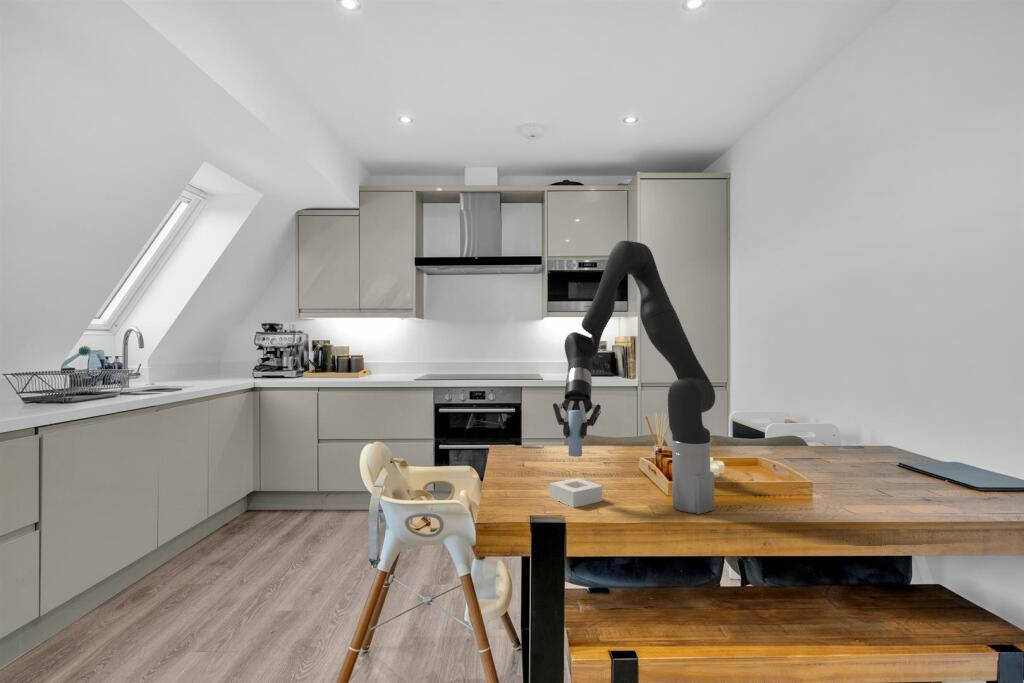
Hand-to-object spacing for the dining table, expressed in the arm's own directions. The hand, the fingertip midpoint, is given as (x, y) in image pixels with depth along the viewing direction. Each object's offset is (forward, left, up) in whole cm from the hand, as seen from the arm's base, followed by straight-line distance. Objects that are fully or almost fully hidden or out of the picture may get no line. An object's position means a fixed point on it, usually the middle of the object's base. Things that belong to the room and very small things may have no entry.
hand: (574, 436), depth 139 cm
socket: (+1, -1, -18) cm, 18 cm away
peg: (+1, -1, -6) cm, 6 cm away
